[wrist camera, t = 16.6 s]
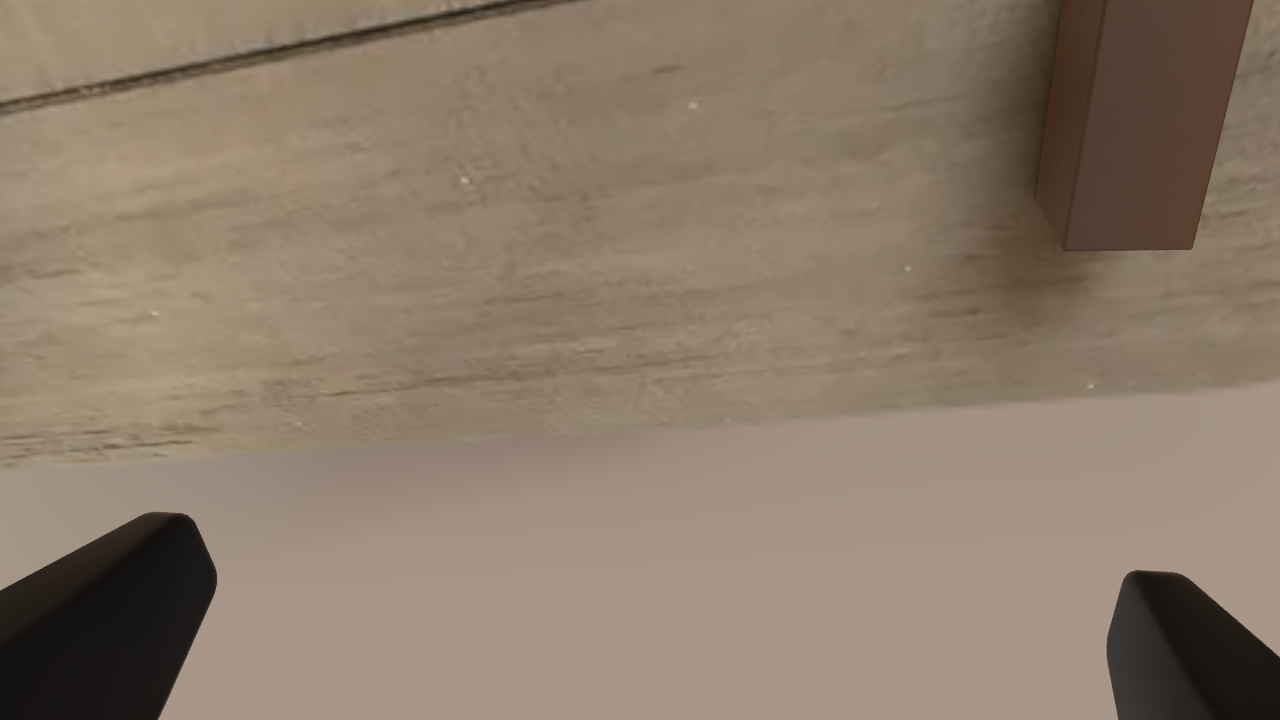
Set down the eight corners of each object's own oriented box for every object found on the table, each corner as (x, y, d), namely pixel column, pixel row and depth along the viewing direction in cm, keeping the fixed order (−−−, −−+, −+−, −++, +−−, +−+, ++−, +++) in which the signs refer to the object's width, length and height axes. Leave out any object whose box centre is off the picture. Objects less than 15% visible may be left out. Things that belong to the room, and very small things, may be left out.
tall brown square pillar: (1212, -106, 14) (1277, -89, 12) (1148, 196, 17) (1192, 251, 15) (1076, -95, 14) (1116, -78, 12) (1033, 198, 17) (1061, 252, 15)
